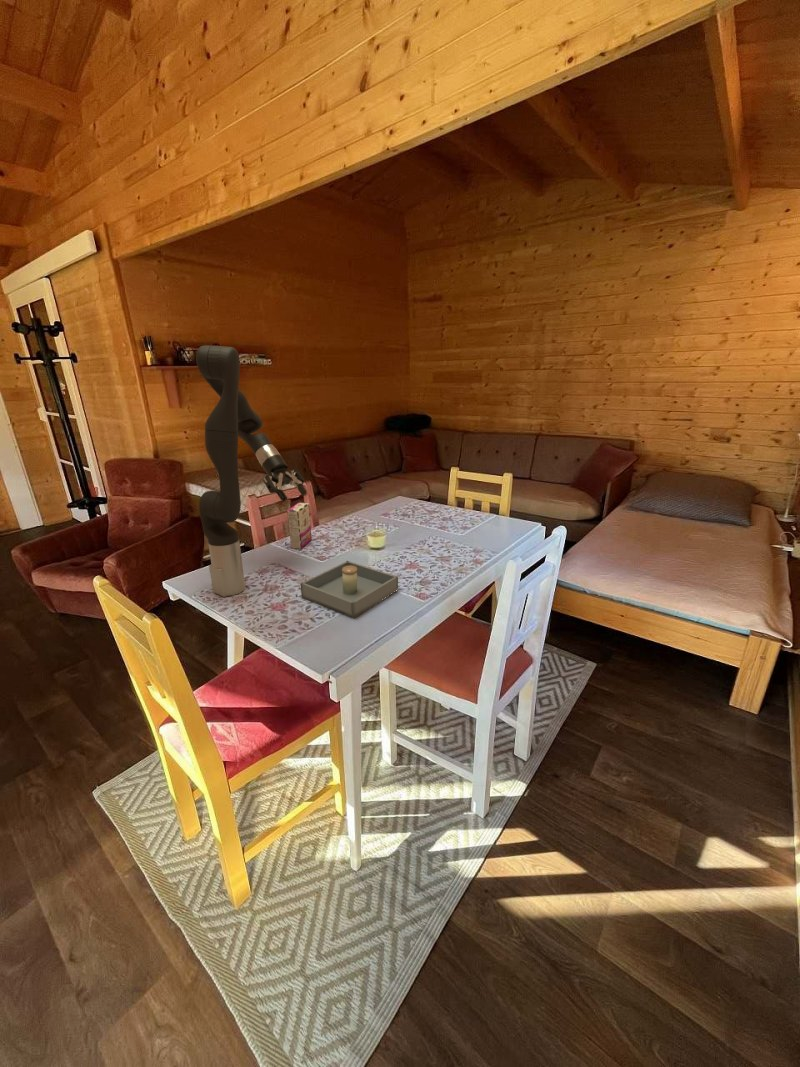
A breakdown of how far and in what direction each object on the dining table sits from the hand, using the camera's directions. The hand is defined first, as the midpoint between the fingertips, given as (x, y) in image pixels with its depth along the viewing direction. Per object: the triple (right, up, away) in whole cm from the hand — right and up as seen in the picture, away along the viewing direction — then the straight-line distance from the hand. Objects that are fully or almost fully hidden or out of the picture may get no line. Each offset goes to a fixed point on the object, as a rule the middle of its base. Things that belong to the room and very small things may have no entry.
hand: (295, 497), depth 155 cm
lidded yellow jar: (+20, -31, -10) cm, 38 cm away
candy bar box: (-5, -17, +31) cm, 36 cm away
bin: (+20, -32, -10) cm, 39 cm away
